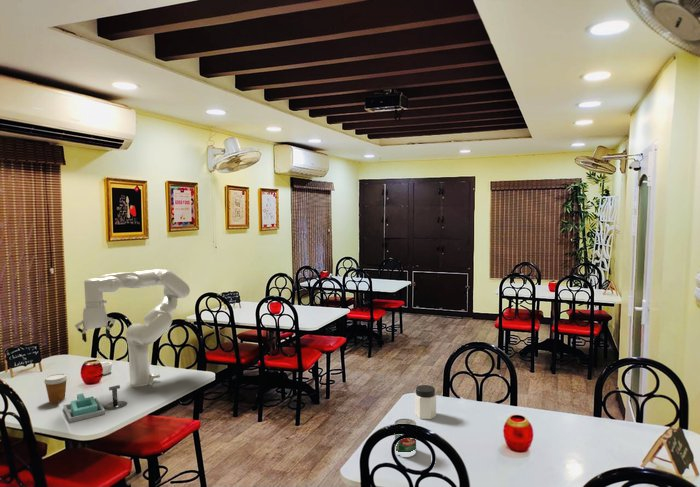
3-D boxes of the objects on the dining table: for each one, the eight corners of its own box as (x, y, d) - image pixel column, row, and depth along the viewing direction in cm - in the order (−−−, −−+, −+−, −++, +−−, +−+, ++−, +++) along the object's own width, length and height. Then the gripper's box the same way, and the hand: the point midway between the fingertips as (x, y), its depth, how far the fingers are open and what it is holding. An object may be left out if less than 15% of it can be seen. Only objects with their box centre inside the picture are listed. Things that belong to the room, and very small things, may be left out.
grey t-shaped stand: (124, 401, 232) (123, 380, 231) (129, 408, 224) (128, 387, 223) (101, 407, 226) (100, 386, 225) (105, 414, 218) (104, 392, 217)
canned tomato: (408, 460, 175) (407, 430, 175) (390, 452, 181) (390, 423, 180) (420, 451, 181) (420, 422, 180) (403, 444, 187) (402, 416, 186)
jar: (422, 409, 218) (422, 383, 217) (439, 414, 213) (439, 387, 212) (411, 416, 211) (411, 389, 210) (428, 421, 206) (428, 393, 205)
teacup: (104, 370, 277) (104, 361, 276) (115, 372, 274) (114, 362, 274) (89, 376, 267) (89, 366, 267) (100, 378, 265) (100, 368, 264)
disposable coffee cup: (44, 407, 227) (42, 381, 226) (46, 399, 236) (44, 375, 235) (68, 403, 231) (66, 378, 230) (69, 396, 240) (67, 372, 239)
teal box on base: (91, 399, 228) (90, 391, 227) (97, 413, 217) (97, 405, 216) (69, 404, 222) (68, 396, 221) (74, 419, 211) (74, 411, 210)
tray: (97, 404, 230) (96, 397, 229) (105, 416, 216) (104, 409, 215) (63, 411, 221) (63, 405, 221) (69, 425, 208) (69, 418, 207)
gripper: (112, 300, 243) (114, 334, 244) (72, 305, 232) (74, 341, 234) (115, 303, 237) (117, 337, 238) (75, 308, 226) (77, 344, 228)
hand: (96, 339), depth 236 cm, fingers open, 9 cm apart
